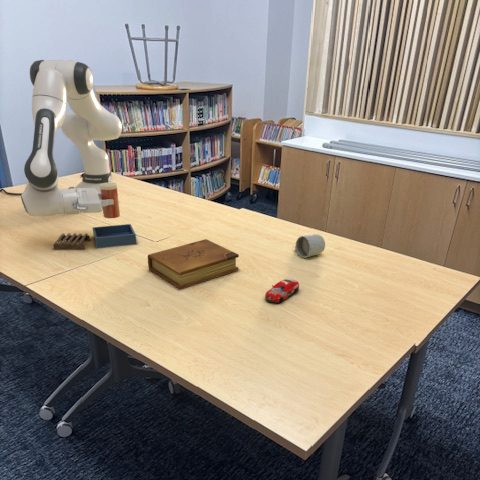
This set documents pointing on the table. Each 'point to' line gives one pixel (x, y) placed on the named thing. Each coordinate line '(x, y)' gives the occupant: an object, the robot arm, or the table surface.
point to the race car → (282, 290)
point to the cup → (110, 192)
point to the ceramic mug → (310, 245)
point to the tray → (114, 235)
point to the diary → (192, 263)
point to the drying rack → (70, 239)
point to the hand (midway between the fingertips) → (112, 198)
